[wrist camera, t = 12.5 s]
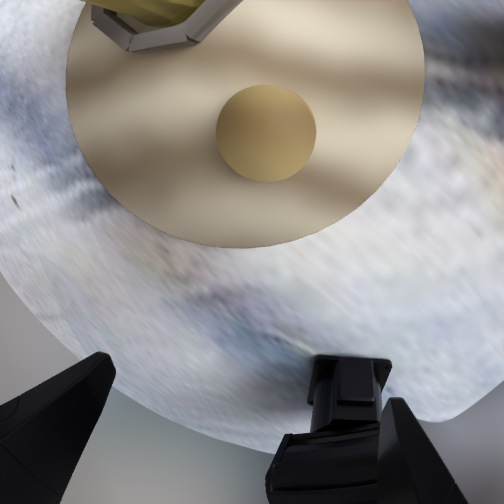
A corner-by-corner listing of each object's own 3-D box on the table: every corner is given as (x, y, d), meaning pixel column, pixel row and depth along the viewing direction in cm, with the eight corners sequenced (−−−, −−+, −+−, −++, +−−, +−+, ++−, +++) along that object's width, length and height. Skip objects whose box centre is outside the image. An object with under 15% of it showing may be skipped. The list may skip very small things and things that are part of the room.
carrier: (399, 256, 20) (409, 280, 17) (93, 231, 24) (70, 247, 21) (405, -78, 9) (414, -99, 6) (79, -39, 13) (54, -46, 11)
